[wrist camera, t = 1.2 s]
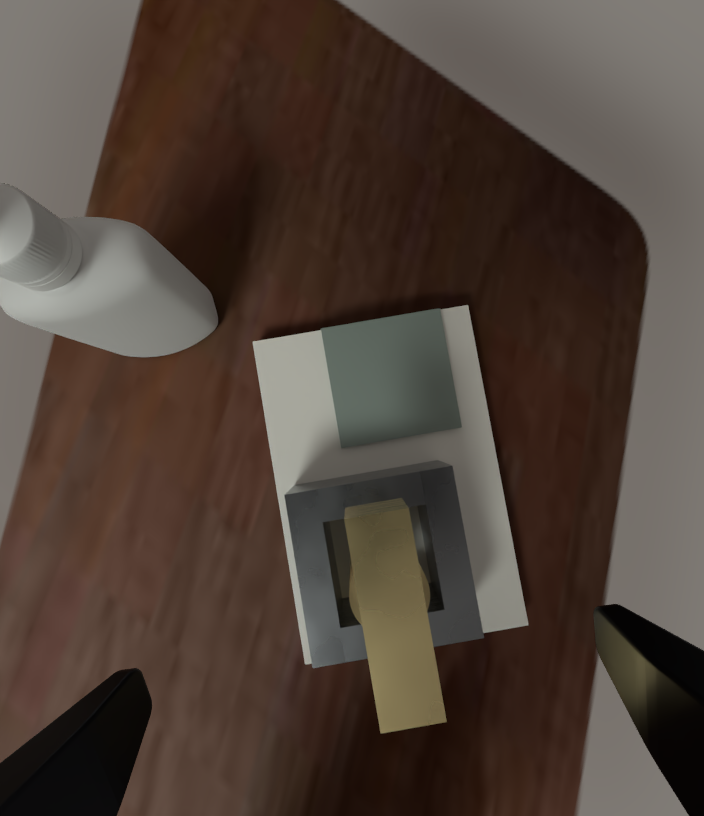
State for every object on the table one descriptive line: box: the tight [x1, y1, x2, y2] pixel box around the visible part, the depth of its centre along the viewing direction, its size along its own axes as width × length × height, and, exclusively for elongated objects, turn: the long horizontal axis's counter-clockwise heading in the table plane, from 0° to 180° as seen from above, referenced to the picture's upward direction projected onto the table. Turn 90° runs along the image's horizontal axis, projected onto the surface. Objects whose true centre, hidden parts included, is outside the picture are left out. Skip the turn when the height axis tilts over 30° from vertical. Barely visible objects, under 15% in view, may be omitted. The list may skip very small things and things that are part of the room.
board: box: [253, 305, 528, 665], centre depth 21 cm, size 16×11×1 cm
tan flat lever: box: [344, 498, 447, 734], centre depth 16 cm, size 6×3×8 cm, turn 10°
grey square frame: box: [284, 460, 484, 668], centre depth 19 cm, size 7×7×3 cm
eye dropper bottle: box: [0, 183, 218, 357], centre depth 16 cm, size 4×6×12 cm
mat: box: [321, 308, 462, 448], centre depth 20 cm, size 6×6×1 cm
